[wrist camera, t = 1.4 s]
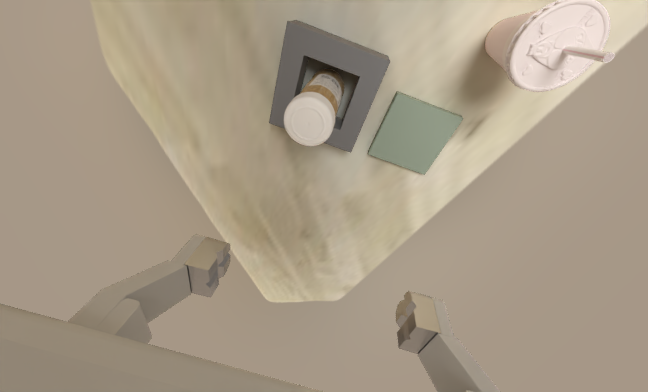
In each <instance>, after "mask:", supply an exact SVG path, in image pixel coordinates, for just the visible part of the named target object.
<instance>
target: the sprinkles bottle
mask: <svg viewBox="0 0 648 392" xmlns="http://www.w3.org/2000/svg"><path fill="white" fill-rule="evenodd" d="M343 93H344V82H343V79H342V77H341V76H340V75H339V74H338V73H337V72H336V71H334V70H332V69H322V70H319V71H318V72H316V73H315V74H314V76H313V78H312V79H311V80H310V81H309V82H308V83H307V84H306V86H305V87H304V89H303V90H302V92H301V93H300V94H299V95H297V96H296V97H294V98H293V99H292V101H291V102H290V103H289V105H288V106H287V108H286V110H285V113H284V126H285V129H286V131H287V133H288V134H289V136H290V137H291V138H292V139H293V140H294V141H296V142H297V143H299V144H301V145H304V146H317V145H320V144H322V143H324V142H325V141H326V140H327V139H328V138H329V137H330V135H331V133H332V131H333V128H334V125H335V116H336V114H337V111H338V108H339V105H340V102H341V98H342V96H343Z"/></svg>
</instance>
